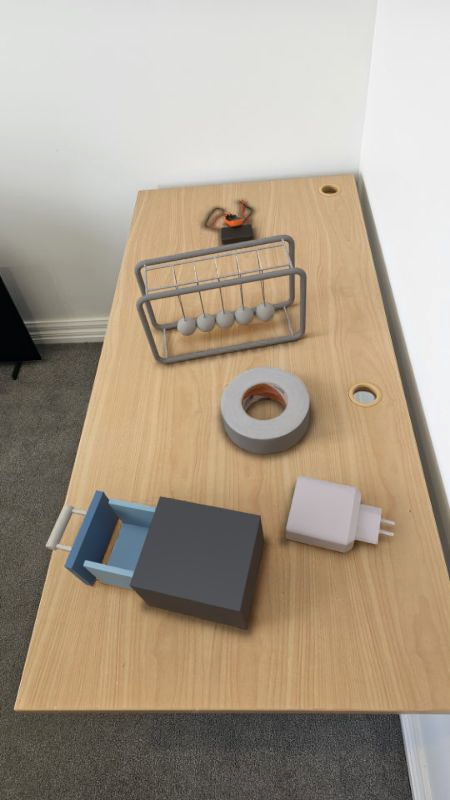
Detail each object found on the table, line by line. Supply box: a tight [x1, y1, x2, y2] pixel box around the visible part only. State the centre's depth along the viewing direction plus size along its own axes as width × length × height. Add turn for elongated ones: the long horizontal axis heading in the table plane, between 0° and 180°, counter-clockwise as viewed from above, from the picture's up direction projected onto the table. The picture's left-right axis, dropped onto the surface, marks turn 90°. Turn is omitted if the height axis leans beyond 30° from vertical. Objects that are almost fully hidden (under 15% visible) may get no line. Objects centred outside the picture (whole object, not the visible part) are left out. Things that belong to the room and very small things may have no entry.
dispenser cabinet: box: [130, 496, 266, 631], centre depth 70 cm, size 15×13×11 cm
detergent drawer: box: [45, 489, 156, 592], centre depth 73 cm, size 18×11×9 cm, turn 76°
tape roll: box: [219, 366, 311, 455], centre depth 87 cm, size 15×15×5 cm
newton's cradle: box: [133, 234, 308, 365], centre depth 95 cm, size 30×10×18 cm, turn 98°
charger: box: [285, 474, 396, 554], centre depth 74 cm, size 5×9×15 cm
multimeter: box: [204, 197, 254, 245], centre depth 122 cm, size 18×12×3 cm, turn 178°
